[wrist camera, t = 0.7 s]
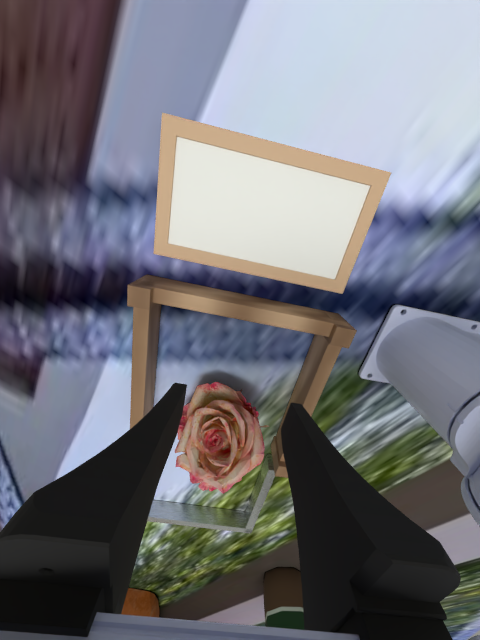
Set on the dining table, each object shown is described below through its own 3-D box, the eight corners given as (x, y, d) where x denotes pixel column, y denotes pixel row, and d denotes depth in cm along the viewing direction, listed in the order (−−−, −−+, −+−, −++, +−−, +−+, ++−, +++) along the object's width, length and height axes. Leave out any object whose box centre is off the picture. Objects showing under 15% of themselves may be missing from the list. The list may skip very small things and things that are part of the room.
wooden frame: (338, 313, 21) (356, 330, 17) (283, 447, 28) (289, 477, 24) (146, 274, 19) (127, 285, 16) (139, 425, 26) (124, 454, 23)
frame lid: (385, 174, 17) (391, 172, 16) (339, 291, 20) (342, 293, 19) (165, 117, 15) (162, 112, 15) (156, 252, 19) (153, 253, 18)
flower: (283, 435, 25) (283, 462, 18) (218, 479, 25) (193, 523, 18) (238, 365, 27) (222, 364, 20) (180, 405, 27) (144, 418, 20)
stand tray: (274, 454, 28) (277, 471, 26) (250, 516, 33) (250, 533, 32) (144, 435, 27) (137, 451, 25) (140, 502, 32) (134, 519, 30)
